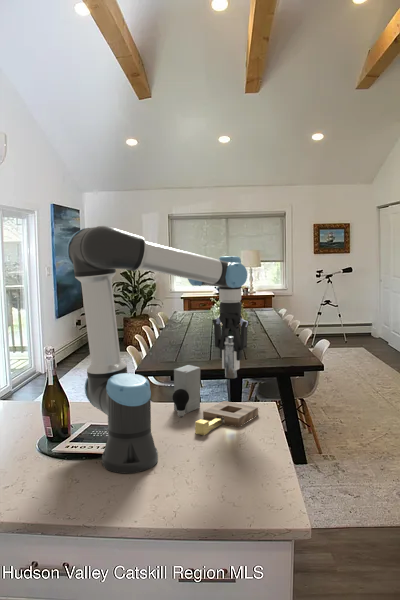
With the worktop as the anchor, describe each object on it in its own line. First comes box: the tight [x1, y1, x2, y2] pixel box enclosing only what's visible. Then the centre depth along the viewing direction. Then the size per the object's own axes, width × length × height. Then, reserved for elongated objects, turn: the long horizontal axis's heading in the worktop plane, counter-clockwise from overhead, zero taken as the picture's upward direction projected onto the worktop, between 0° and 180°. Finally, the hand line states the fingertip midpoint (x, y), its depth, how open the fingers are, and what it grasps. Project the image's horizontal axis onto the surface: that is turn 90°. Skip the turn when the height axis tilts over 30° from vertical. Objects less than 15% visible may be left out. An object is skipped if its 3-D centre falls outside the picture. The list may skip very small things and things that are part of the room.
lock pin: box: [194, 418, 223, 437], centre depth 155 cm, size 12×3×4 cm, turn 146°
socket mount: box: [202, 400, 259, 428], centre depth 166 cm, size 14×14×3 cm
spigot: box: [224, 335, 238, 379], centre depth 164 cm, size 5×5×14 cm
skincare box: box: [173, 364, 201, 414], centre depth 175 cm, size 8×7×16 cm
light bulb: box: [172, 389, 189, 418], centre depth 167 cm, size 6×6×10 cm
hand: (230, 368), depth 165 cm, fingers closed on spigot, 4 cm apart
